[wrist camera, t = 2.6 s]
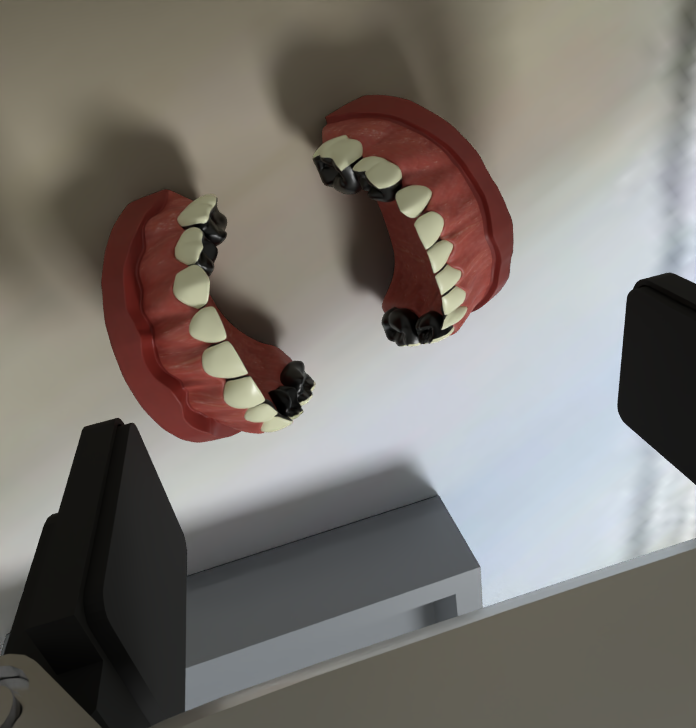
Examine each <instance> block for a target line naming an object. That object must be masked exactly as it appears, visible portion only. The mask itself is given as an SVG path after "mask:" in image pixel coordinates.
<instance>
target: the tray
mask: <svg viewBox="0 0 696 728" xmlns="http://www.w3.org/2000/svg"><path fill="white" fill-rule="evenodd" d="M481 608H483V606H482V587H481V568H480V565H479V564H478V562H477V560H476V558H475V557H474V555H473V553H472V552H471V550H470V548H469V546H468V545H467V543H466V541H465V540H464V538H463V536H462V534H461V533H460V531H459V529H458V527H457V526H456V524H455V522H454V521H453V519H452V517H451V515H450V514H449V512H448V510H447V509H446V507H445V505H444V503H443V502H442V500H441V498H440V496H436V497H433V498H430V499H427V500H423V501H420V502H417V503H414V504H411V505H408V506H405V507H402V508H399V509H395V510H392V511H389V512H386V513H383V514H380V515H377V516H374V517H371V518H368V519H364V520H361V521H358V522H355V523H352V524H349V525H346V526H343V527H340V528H336V529H333V530H330V531H327V532H324V533H321V534H318V535H315V536H312V537H308V538H305V539H302V540H299V541H296V542H293V543H290V544H287V545H284V546H280V547H277V548H274V549H271V550H268V551H265V552H262V553H259V554H256V555H252V556H249V557H246V558H243V559H240V560H237V561H234V562H231V563H228V564H224V565H221V566H218V567H215V568H212V569H209V570H206V571H203V572H200V573H197V574H193V575H190V576H187V592H186V678H185V712H186V711H188V710H191V709H193V708H196V707H198V706H201V705H203V704H206V703H208V702H211V701H213V700H216V699H218V698H221V697H223V696H226V695H229V694H231V693H234V692H237V691H240V690H243V689H246V688H249V687H251V686H254V685H257V684H260V683H263V682H266V681H268V680H271V679H274V678H277V677H280V676H283V675H286V674H288V673H291V672H294V671H297V670H300V669H303V668H305V667H308V666H311V665H314V664H317V663H320V662H323V661H325V660H328V659H331V658H334V657H337V656H340V655H343V654H346V653H349V652H352V651H355V650H358V649H361V648H364V647H367V646H370V645H373V644H376V643H379V642H382V641H385V640H388V639H391V638H394V637H397V636H400V635H403V634H406V633H409V632H412V631H415V630H418V629H421V628H424V627H427V626H430V625H433V624H436V623H439V622H442V621H445V620H448V619H451V618H454V617H457V616H460V615H463V614H466V613H469V612H472V611H475V610H478V609H481ZM9 635H10V634H7V635H6V638H5V642H4V645H3V649H2V653H1V656H2V655H4V651H5V648H6V645H7V642H8V639H9Z"/></svg>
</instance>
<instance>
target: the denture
mask: <svg viewBox="0 0 696 728" xmlns="http://www.w3.org/2000/svg"><path fill="white" fill-rule="evenodd" d="M325 119H326V121H327V125H326V126H325V127H324V128H323V130H322V139H323V144H322V145H321V146H320V147H319V148H318V149H317V150H316V152H315V154H314V156H313V161H314V163H315V165H316V167H317V170H318V172H319V174H320V177H321V180H322V182H323V183H324V185H326V186H329V187H334V188H335V189H336V190H337V191H339V192H341V193H344V194H356V193H358V192H359V191H361V190H362V189H363V190H366V191H369V193H368V196H369V198H371V199H373V200H376V201H377V203H378V205H379V207H380V210H381V212H382V215H383V218H384V220H385V223H386V226H387V229H388V232H389V235H390V239H391V242H392V246H393V250H394V258H395V266H394V274H393V278H392V281H391V284H390V287H389V289H388V291H387V293H386V295H385V298H384V300H383V303H382V309H383V311H384V313H385V314H384V315H383V318H382V326H383V328H384V330H385V333H386V336H387V338H388V340H390V341H393V342H396V344H397V345H398V346H411V347H413V346H418V345H421V344H428V343H429V344H432V343H436V342H439V341H441V340H443V339H445V338H447V337H448V336H450V335H453V334H455V333H456V332H457V331H458V330H459V329H460V327H461V326H462V325H463V323H464V322H465V320H466V319H467V317H468V316H469V314H470V313H471V312H473V311H476V310H477V309H479V308H481V307H482V306H483V305H485V304H486V303H487V302H488V301H489V300H491V299H492V298H493V297H494V296H495V295H496V294H497V293H499V291H500V290H501V289H502V287H503V286H504V285H505V283H506V281H507V280H508V278H509V273H510V263H511V257H512V253H513V223H512V219H511V216H510V214H509V212H508V209H507V207H506V204H505V202H504V199H503V197H502V195H501V193H500V191H499V189H498V187H497V185H496V184H495V182H494V181H493V180H492V178H491V176H490V174H489V172H488V171H487V169H486V167H485V165H484V163H483V161H482V159H481V157H480V156H479V154H478V152H477V151H476V150H475V149H474V148H473V147H472V145H471V144H470V143H469V142H468V141H467V140H466V139H465V138H464V137H463V136H462V135H461V134H460V133H459V132H458V131H457V130H456V129H455V128H454V127H453V126H452V125H451V124H449V123H448V122H447V121H445V120H444V119H442V118H441V117H439V116H438V115H436V114H434V113H433V112H431V111H429V110H427V109H426V108H424V107H422V106H420V105H418V104H416V103H414V102H412V101H410V100H407V99H403V98H398V97H393V96H386V95H365V96H362V97H360V98H358V99H356V100H354V101H352V102H350V103H348V104H346V105H344V106H342V107H341V108H339V109H337V110H336V111H334V112H332V113H331V114H329V115H328V116H326V117H325ZM226 226H227V219H226V217H225V216H224V215H223V214H222V213H220V212H219V210H218V208H217V197H216V196H215V195H213V194H208V195H204V196H202V197H199V198H197V199H196V200H194V201H193V200H190V199H188V198H186V197H183V196H181V195H179V194H177V193H175V192H173V191H170V190H168V189H164V190H161V191H158V192H156V193H153V194H151V195H148V196H145V197H143V198H140V199H138V200H136V201H133V202H131V203H130V204H128V205H127V206H126V208H125V209H124V210H123V212H122V213H121V215H120V216H119V218H118V219H117V221H116V223H115V224H114V226H113V229H112V231H111V234H110V237H109V240H108V243H107V246H106V250H105V255H104V263H103V271H102V281H101V286H102V295H103V309H104V318H105V324H106V329H107V332H108V335H109V339H110V343H111V346H112V349H113V352H114V355H115V357H116V360H117V362H118V365H119V367H120V370H121V372H122V375H123V377H124V379H125V381H126V383H127V385H128V386H129V388H130V390H131V391H132V393H133V395H134V396H135V398H136V399H137V401H138V402H139V404H140V405H141V407H142V408H143V409H144V410H145V411H146V413H147V414H148V415H149V416H150V417H151V418H152V419H153V420H154V421H155V422H156V423H157V424H158V425H160V426H161V427H162V428H163V429H164V430H166V431H167V432H169V433H171V434H173V435H174V436H176V437H178V438H180V439H182V440H186V441H191V442H207V441H212V440H216V439H221V438H225V437H229V436H232V435H235V434H237V433H239V432H241V431H244V432H249V433H257V434H260V433H264V432H275V431H278V430H281V429H283V428H285V427H287V426H289V425H290V424H292V423H293V419H295V418H297V417H298V416H299V415H300V414H302V413H303V410H302V408H301V405H304V404H306V403H308V401H309V400H310V399H311V398H312V395H313V394H312V391H313V389H314V388H315V382H314V381H313V380H312V378H311V377H310V376H309V375H308V374H306V373H305V371H304V369H305V367H304V364H303V362H301V361H292V360H291V358H290V357H288V356H287V355H286V354H285V353H284V352H283V351H282V350H280V349H279V348H277V347H275V346H273V345H268V344H264V343H261V342H258V341H256V340H254V339H252V338H250V337H248V336H247V335H245V334H244V333H242V332H241V331H239V330H238V329H237V328H235V327H234V326H233V325H232V324H231V323H230V322H229V321H228V320H227V319H226V318H225V317H224V316H223V315H222V313H221V312H220V310H219V309H218V308H217V306H216V304H215V303H214V301H213V299H212V297H211V296H210V294H209V290H210V280H209V276H210V275H211V273H212V271H213V270H214V262H215V260H216V257H217V254H218V249H217V247H216V246H218V245H219V244H221V243H222V242H223V241H224V240H225V238H226V236H227V233H226V232H225V229H226Z"/></svg>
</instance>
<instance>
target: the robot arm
mask: <svg viewBox="0 0 696 728" xmlns="http://www.w3.org/2000/svg"><path fill="white" fill-rule="evenodd" d="M617 405H618V412H619V415H620V417H621V419H622V420H623V422H624V423H625V424H626V425H627V426H628V427H630V428H631V429H632V430H633V431H634V432H635V433H637V434H638V435H639V436H640V437H641V438H642V439H643V440H645V441H646V442H647V443H648V444H649V445H650V446H652V447H653V448H654V449H655V450H656V451H657V452H658V453H660V454H661V455H662V456H663V457H664V458H665V459H667V460H668V461H669V462H670V463H671V464H672V465H673V466H675V467H676V468H677V469H678V470H679V471H680V472H682V473H683V474H684V475H685V476H686V477H687V478H688V479H690V480H691V481H692V482H693V483H694V484H695V485H696V284H695V283H693V282H691V281H689V280H687V279H684V278H682V277H680V276H678V275H676V274H673V273H665V274H661V275H657V276H653V277H650V278H646V279H642V280H639V281H638V282H637V283H636V284H635V286H634V288H633V290H631V291H630V292H629V294H628V296H627V303H626V314H625V325H624V336H623V348H622V359H621V370H620V381H619V393H618V404H617ZM186 592H187V548H186V542H185V538H184V534H183V532H182V529H181V527H180V525H179V522H178V520H177V518H176V516H175V513H174V511H173V509H172V506H171V504H170V502H169V500H168V497H167V495H166V493H165V490H164V488H163V486H162V484H161V481H160V479H159V477H158V474H157V472H156V470H155V468H154V465H153V463H152V461H151V458H150V456H149V454H148V451H147V449H146V447H145V445H144V442H143V440H142V438H141V435H140V433H139V431H138V429H137V427H136V425H135V424H134V423H129V424H125V425H124V423H123V422H122V420H121V419H119V418H115V419H112V420H108V421H104V422H100V423H96V424H93V425H89V426H86V427H84V428H83V430H82V433H81V436H80V440H79V443H78V446H77V450H76V453H75V457H74V460H73V464H72V467H71V471H70V474H69V477H68V481H67V484H66V488H65V491H64V495H63V498H62V502H61V505H60V508H59V512H58V513H56V514H52V515H51V516H50V517H48V518H47V520H46V522H45V524H44V527H43V530H42V533H41V536H40V539H39V543H38V546H37V549H36V552H35V555H34V559H33V562H32V565H31V568H30V571H29V575H28V578H27V581H26V584H25V587H24V591H23V594H22V597H21V600H20V603H19V607H18V610H17V613H16V616H15V619H14V623H13V626H12V629H11V632H10V635H9V639H8V642H7V645H6V648H5V651H4V655H2V656H0V728H696V538H695V539H692V540H688V541H685V542H682V543H679V544H676V545H673V546H670V547H667V548H664V549H661V550H658V551H655V552H652V553H649V554H645V555H642V556H639V557H636V558H633V559H630V560H627V561H624V562H621V563H618V564H615V565H612V566H609V567H606V568H603V569H599V570H596V571H593V572H590V573H587V574H584V575H581V576H578V577H575V578H572V579H569V580H566V581H563V582H560V583H557V584H554V585H551V586H548V587H545V588H541V589H538V590H535V591H532V592H529V593H526V594H523V595H520V596H517V597H514V598H511V599H508V600H505V601H502V602H499V603H496V604H493V605H490V606H487V607H484V608H481V609H478V610H475V611H472V612H469V613H466V614H463V615H460V616H457V617H454V618H451V619H448V620H445V621H442V622H439V623H436V624H433V625H430V626H427V627H424V628H421V629H418V630H415V631H412V632H409V633H406V634H403V635H400V636H397V637H394V638H391V639H388V640H385V641H382V642H379V643H376V644H373V645H370V646H367V647H364V648H361V649H358V650H355V651H352V652H349V653H346V654H343V655H340V656H337V657H334V658H331V659H328V660H325V661H323V662H320V663H317V664H314V665H311V666H308V667H305V668H303V669H300V670H297V671H294V672H291V673H288V674H286V675H283V676H280V677H277V678H274V679H271V680H268V681H266V682H263V683H260V684H257V685H254V686H251V687H249V688H246V689H243V690H240V691H237V692H234V693H231V694H229V695H226V696H223V697H221V698H218V699H216V700H213V701H211V702H208V703H206V704H203V705H201V706H198V707H196V708H193V709H191V710H188V711H186V712H185V678H186Z"/></svg>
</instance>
